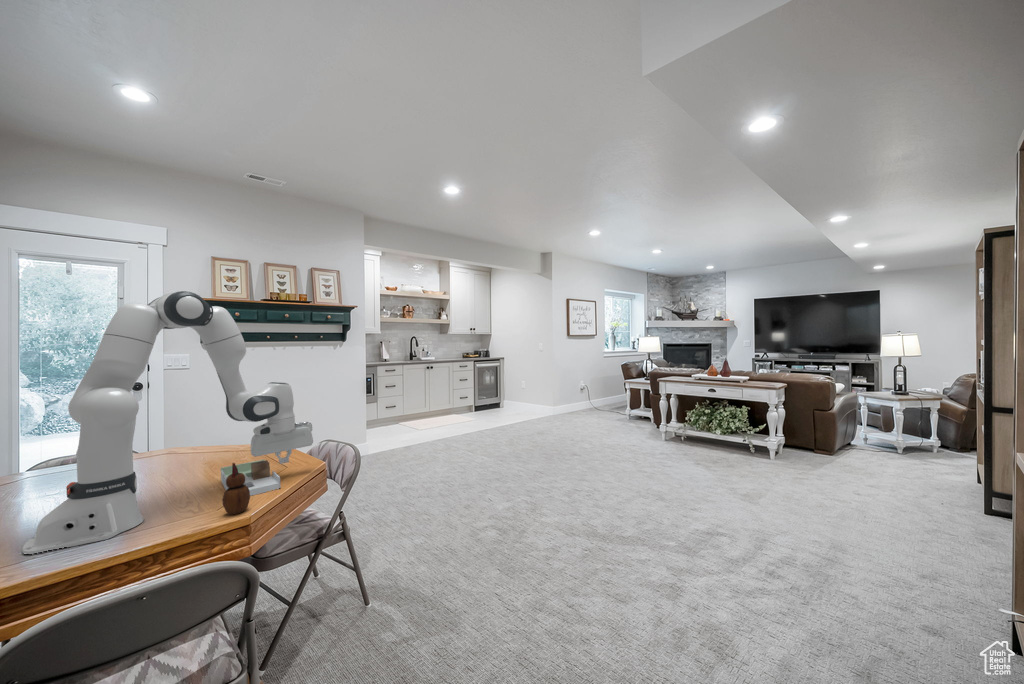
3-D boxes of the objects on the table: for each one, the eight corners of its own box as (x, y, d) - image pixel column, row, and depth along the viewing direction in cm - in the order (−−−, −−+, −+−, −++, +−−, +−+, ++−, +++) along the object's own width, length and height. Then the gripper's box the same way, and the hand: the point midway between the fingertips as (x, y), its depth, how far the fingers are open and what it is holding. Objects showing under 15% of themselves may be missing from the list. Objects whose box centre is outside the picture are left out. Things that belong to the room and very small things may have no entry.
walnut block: (253, 480, 146) (253, 465, 146) (251, 477, 149) (250, 463, 149) (270, 476, 149) (269, 462, 149) (267, 473, 153) (266, 460, 153)
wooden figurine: (239, 516, 118) (236, 464, 118) (219, 517, 118) (216, 464, 118) (254, 507, 125) (251, 457, 125) (235, 508, 125) (233, 458, 125)
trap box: (231, 500, 132) (230, 484, 132) (221, 481, 153) (220, 467, 153) (280, 488, 141) (279, 473, 141) (264, 472, 162) (264, 459, 162)
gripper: (309, 419, 162) (311, 454, 162) (248, 429, 149) (250, 467, 149) (314, 421, 157) (316, 457, 157) (251, 432, 144) (254, 471, 144)
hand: (284, 462), depth 153 cm, fingers closed
